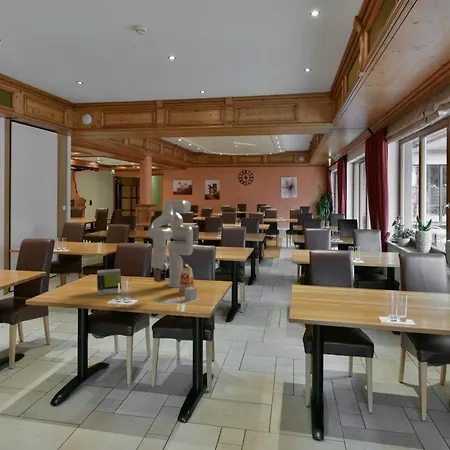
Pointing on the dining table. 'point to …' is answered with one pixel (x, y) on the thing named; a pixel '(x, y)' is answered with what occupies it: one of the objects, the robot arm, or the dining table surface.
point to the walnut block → (158, 275)
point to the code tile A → (174, 301)
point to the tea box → (108, 281)
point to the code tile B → (190, 301)
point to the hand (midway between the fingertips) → (159, 278)
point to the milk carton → (186, 279)
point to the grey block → (190, 293)
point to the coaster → (160, 300)
